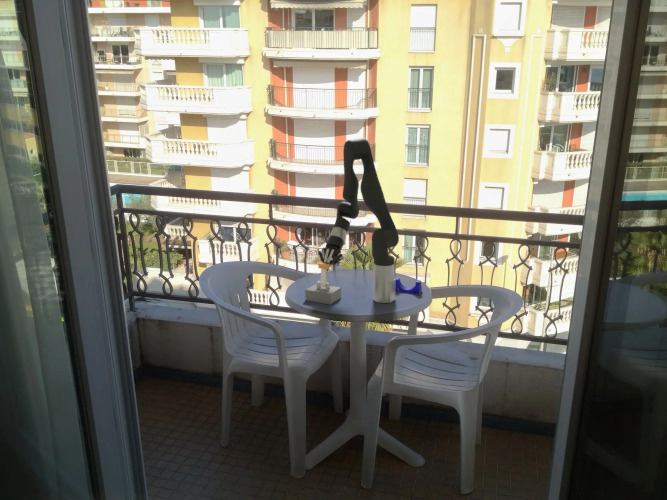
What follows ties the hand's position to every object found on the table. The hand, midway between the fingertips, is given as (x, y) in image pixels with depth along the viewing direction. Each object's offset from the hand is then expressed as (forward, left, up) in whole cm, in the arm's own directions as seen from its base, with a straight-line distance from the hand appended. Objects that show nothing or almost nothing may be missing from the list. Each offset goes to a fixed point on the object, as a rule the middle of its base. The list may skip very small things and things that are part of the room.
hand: (324, 271), depth 269 cm
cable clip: (-31, -26, -13) cm, 43 cm away
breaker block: (0, +2, -13) cm, 13 cm away
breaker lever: (0, +2, -7) cm, 7 cm away
